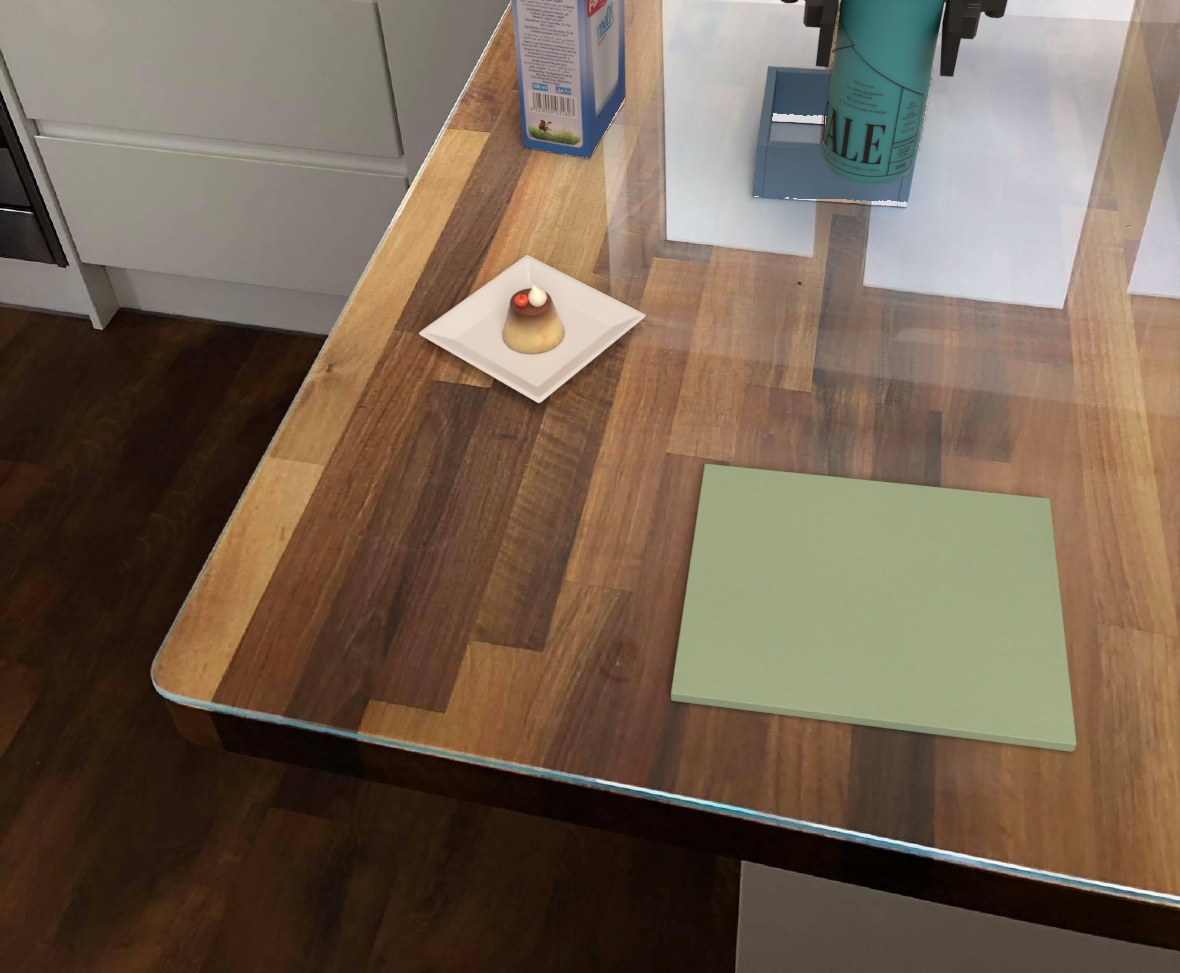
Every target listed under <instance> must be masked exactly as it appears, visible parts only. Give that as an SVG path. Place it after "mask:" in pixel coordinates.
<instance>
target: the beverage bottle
mask: <svg viewBox="0 0 1180 973" xmlns="http://www.w3.org/2000/svg"><path fill="white" fill-rule="evenodd" d="M945 4H946V3H945V0H840V1H839V2H838V8H837V9H838V10H837V13H838V14H837V16H836V24H835V31H836V32H834V36H833V40H834V42H833V45H835V46H834V48H833V49H831V53H833V54H834V55H833V61H832V63H831V64H830V69H831V70H832V77H831V85H830V93H829V97H828V98H829V101H828V100H827V105H828V106H827V105H825V106H826V108H827V117H826V125H825V116H826V115H825V113H826V112H825V113H824V121H823V122H824V125H823V128H822V130H821V131H822V134H821V140H820V144H823V147H822V148H823V153H822V154H823V158H824V162H825V164H826V166H827V167H828V168H829V169H830V170H831V171H832V172H833V173H834V174H836V175H837V176H839V177H841V178H843V179H846V180H848V181H851V182H855V183H861V184H885V183H890V182H893V181H896V180H899V179H901V178H903V177H904V176H905V175H907V174H908V173H909V172H910V170H911V169H912V167H913V165H914V163H915V164H916V162H917V161H916V160H917V156H918V152H920V150H921V145H920V142H921V143H922V138H923V136H924V135H923V134H922V133H923V132H924V130H925V129H924V126H923V125H924V121H927V120H926V119H927V117H925V116H926V114H925V113H926V112H927V110H928V106H927V105H929V104H930V103H929V102H928V104H927V101H928V98H929V99H930V96H929V93H930V94H931V91H930V92H929V90H930V88H932V87H933V86H932V85H931V81H932V83H933V81H934V80H933V78H932V72H934V66H933V64H934V59H935V54H936V50H937V44H938V40H939V34H940V27H941V25H942V19H943V14H944V9H945ZM830 72H831V71H830ZM829 75H830V76H831V74H830V73H829ZM829 78H830V77H829ZM829 80H830V79H829ZM828 87H829V82H828ZM827 92H828V91H827ZM826 98H827V97H826ZM825 111H826V109H825ZM822 142H823V143H822ZM820 146H821V145H820ZM821 152H822V151H821ZM915 161H916V162H915Z"/></svg>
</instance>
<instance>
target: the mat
mask: <svg viewBox="0 0 1180 973" xmlns="http://www.w3.org/2000/svg"><path fill="white" fill-rule="evenodd" d="M702 471H703V472H702V479H701V485H700V491H699V498H698V505H697V511H696V512H697V513H696V519H695V526H694V534H693V538H692V540H693V541H692V544H691V545H692V546H691V553H690V560H689V565H688V566H689V567H688V573H687V581H686V586H685V592H684V601H683V606H682V613H681V622H680V628H679V634H678V641H677V647H676V655H675V663H674V668H673V676H672V681H671V688H670V701H671V702H677V703H678V702H679V703H687V704H695V705H701V706H703V705H704V706H711V707H718V708H726V709H734V710H740V711H741V710H742V711H750V712H756V713H757V712H758V713H765V714H774V715H780V716H788V717H795V718H805V719H813V720H820V721H828V722H834V723H843V724H851V725H857V726H858V725H859V726H868V727H874V728H883V729H890V730H897V731H905V732H912V733H913V732H915V733H921V734H930V735H937V736H938V735H939V736H944V737H952V738H961V739H968V740H970V739H971V740H975V741H985V742H991V743H992V742H993V743H1000V744H1008V745H1016V746H1022V747H1030V748H1037V749H1038V748H1039V749H1046V750H1055V751H1063V752H1069V753H1070V752H1071V753H1073V752H1074V751H1075V749H1076V747H1077V745H1078V744H1077V743H1078V742H1077V736H1076V727H1075V716H1074V709H1073V699H1072V698H1073V697H1072V689H1071V688H1072V687H1071V679H1070V671H1069V662H1068V661H1069V660H1068V653H1067V652H1068V651H1067V643H1066V634H1065V625H1064V616H1063V607H1062V596H1061V589H1060V580H1059V571H1058V570H1059V569H1058V559H1057V552H1056V544H1055V543H1056V541H1055V535H1054V534H1055V533H1054V524H1053V514H1052V506H1051V499H1050V498H1049V497H1039V496H1029V495H1019V494H1009V493H999V492H991V491H990V492H989V491H980V490H972V489H971V490H970V489H960V488H951V487H950V488H949V487H940V486H930V485H921V484H911V483H900V482H891V481H882V480H871V479H862V478H861V479H860V478H851V477H841V476H831V475H822V474H812V473H802V472H801V473H800V472H794V471H793V472H791V471H781V470H774V469H773V470H772V469H763V468H762V469H761V468H751V467H744V466H743V467H742V466H732V465H723V464H713V463H704V465H703V470H702Z"/></svg>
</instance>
